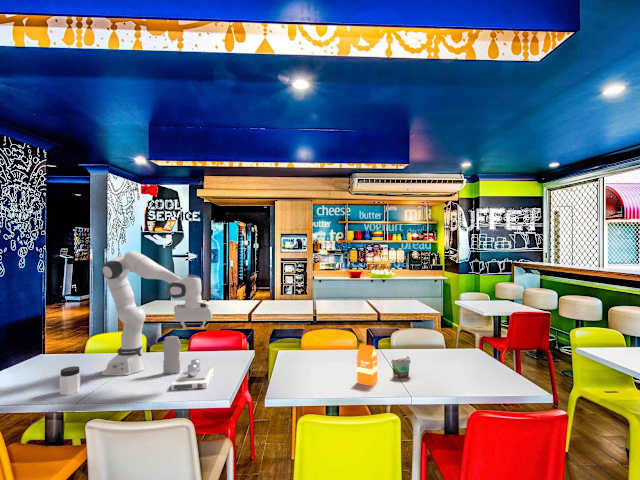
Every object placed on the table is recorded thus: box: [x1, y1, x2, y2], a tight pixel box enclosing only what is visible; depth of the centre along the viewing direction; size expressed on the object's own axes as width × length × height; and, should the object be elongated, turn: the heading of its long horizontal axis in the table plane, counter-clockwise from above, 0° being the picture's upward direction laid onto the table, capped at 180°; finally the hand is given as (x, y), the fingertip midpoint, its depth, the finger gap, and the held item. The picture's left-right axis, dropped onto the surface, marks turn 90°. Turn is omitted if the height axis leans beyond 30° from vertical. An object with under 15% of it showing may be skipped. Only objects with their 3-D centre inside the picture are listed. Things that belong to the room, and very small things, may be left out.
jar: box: [59, 365, 81, 396], centre depth 187 cm, size 9×8×12 cm
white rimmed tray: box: [170, 366, 215, 391], centre depth 199 cm, size 18×22×4 cm
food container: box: [390, 355, 411, 379], centre depth 203 cm, size 12×6×10 cm, turn 117°
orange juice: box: [356, 343, 378, 386], centre depth 197 cm, size 8×9×20 cm
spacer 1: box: [190, 358, 201, 372], centre depth 205 cm, size 5×5×6 cm
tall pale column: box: [162, 335, 182, 375], centre depth 213 cm, size 11×4×22 cm, turn 93°
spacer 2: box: [187, 363, 197, 378], centre depth 197 cm, size 5×5×6 cm
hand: (193, 329), depth 200 cm, fingers open, 8 cm apart
